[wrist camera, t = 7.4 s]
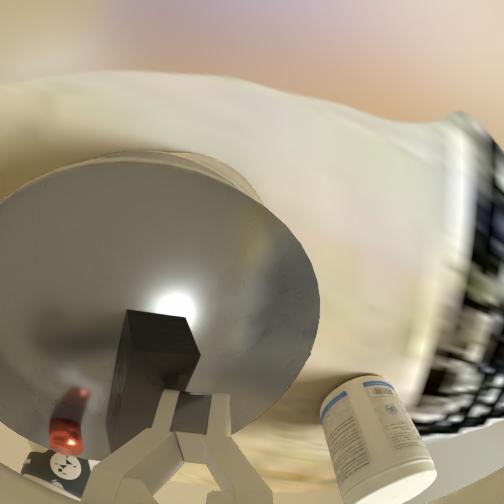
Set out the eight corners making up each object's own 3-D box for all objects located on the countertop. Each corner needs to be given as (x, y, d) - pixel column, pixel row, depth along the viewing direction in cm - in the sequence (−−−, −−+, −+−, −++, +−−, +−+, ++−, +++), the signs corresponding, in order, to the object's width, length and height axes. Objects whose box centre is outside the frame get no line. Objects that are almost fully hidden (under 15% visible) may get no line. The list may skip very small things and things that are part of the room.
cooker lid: (237, 438, 18) (255, 472, 16) (-9, 427, 9) (-11, 471, 7) (367, 232, 13) (414, 263, 11) (-39, 109, 4) (-94, 120, 2)
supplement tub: (331, 431, 34) (354, 523, 20) (306, 394, 31) (331, 506, 17) (397, 401, 33) (438, 486, 19) (384, 358, 30) (439, 459, 16)
